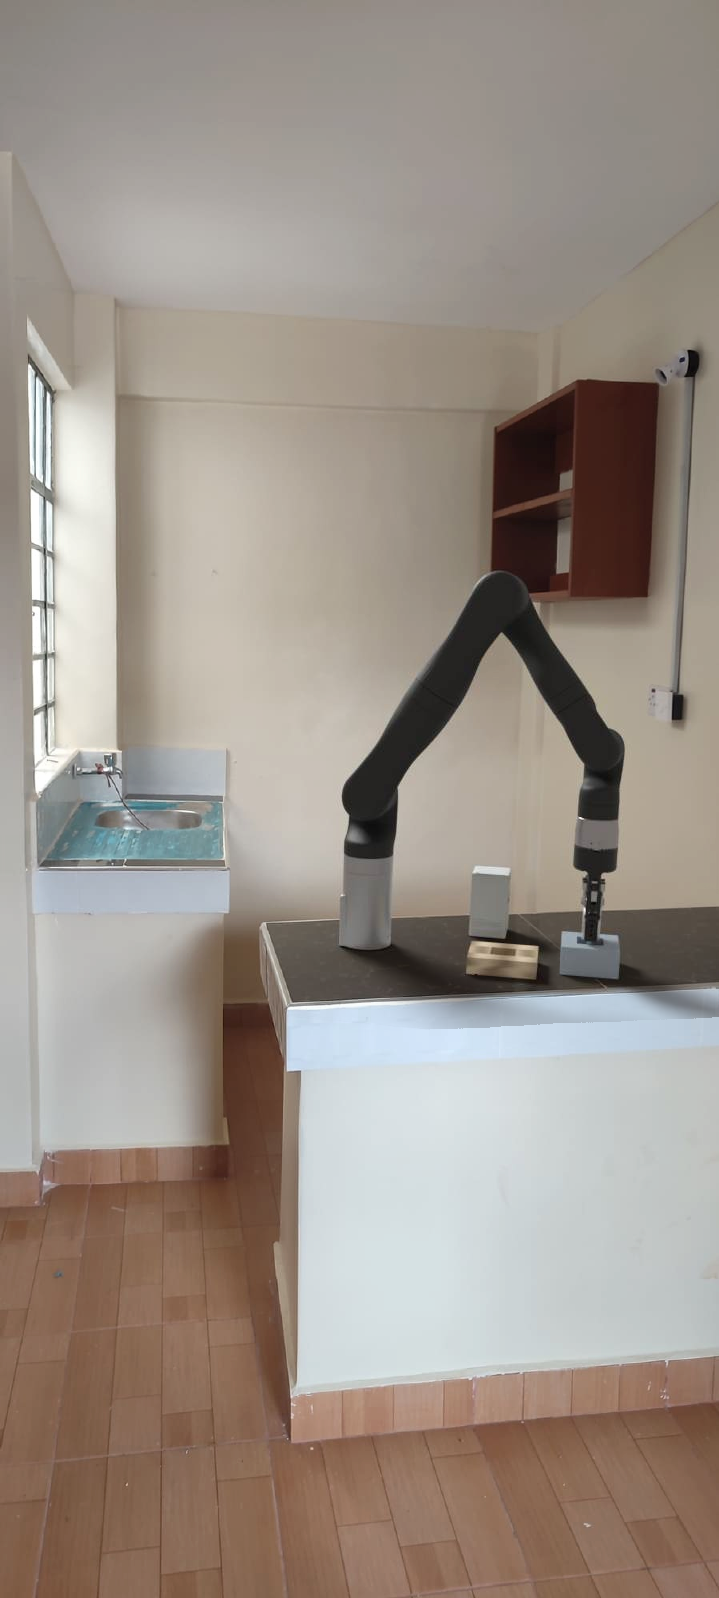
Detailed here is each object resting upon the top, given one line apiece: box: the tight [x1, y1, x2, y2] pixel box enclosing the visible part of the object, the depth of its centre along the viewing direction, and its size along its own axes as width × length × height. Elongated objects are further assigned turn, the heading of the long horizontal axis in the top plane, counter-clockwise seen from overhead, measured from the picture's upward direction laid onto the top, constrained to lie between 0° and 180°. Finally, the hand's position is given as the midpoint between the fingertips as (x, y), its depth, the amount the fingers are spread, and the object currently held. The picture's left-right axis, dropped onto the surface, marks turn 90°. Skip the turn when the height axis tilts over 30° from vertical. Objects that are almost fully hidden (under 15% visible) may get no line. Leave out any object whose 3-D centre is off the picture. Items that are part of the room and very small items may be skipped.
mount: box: [465, 940, 539, 981], centre depth 201 cm, size 12×10×3 cm
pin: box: [580, 896, 606, 945], centre depth 201 cm, size 4×4×12 cm
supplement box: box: [468, 865, 512, 940], centre depth 222 cm, size 7×7×13 cm
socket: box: [559, 930, 621, 980], centre depth 202 cm, size 10×10×5 cm
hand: (590, 937), depth 201 cm, fingers open, 3 cm apart
